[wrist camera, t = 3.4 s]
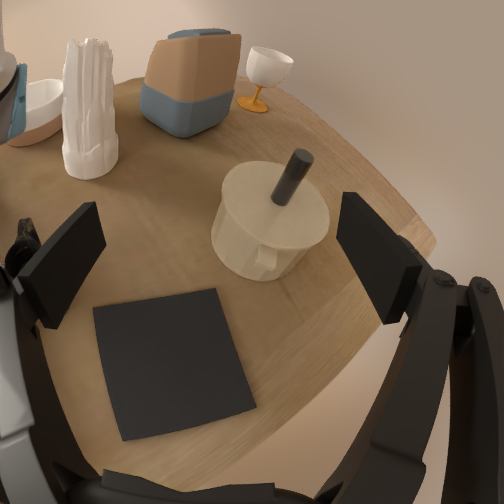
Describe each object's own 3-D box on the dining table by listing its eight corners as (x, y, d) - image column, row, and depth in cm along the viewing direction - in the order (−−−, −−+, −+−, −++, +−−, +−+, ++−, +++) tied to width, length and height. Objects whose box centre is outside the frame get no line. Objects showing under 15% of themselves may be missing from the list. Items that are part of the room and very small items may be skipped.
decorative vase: (78, 141, 45) (77, 26, 26) (124, 145, 48) (136, 25, 29) (56, 177, 39) (41, 46, 20) (108, 183, 42) (110, 42, 23)
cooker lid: (206, 228, 33) (224, 170, 25) (234, 154, 42) (252, 105, 35) (326, 269, 35) (368, 227, 28) (325, 189, 44) (353, 148, 37)
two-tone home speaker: (182, 97, 64) (202, 18, 46) (230, 124, 62) (261, 39, 44) (131, 116, 54) (144, 22, 36) (180, 149, 52) (206, 41, 34)
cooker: (195, 279, 39) (207, 241, 31) (226, 186, 50) (241, 145, 43) (291, 308, 41) (324, 279, 33) (299, 212, 53) (323, 177, 45)
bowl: (-6, 150, 37) (-15, 120, 30) (22, 109, 45) (18, 83, 39) (54, 144, 43) (50, 110, 37) (77, 104, 52) (76, 75, 45)
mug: (72, 318, 30) (42, 275, 20) (37, 324, 27) (-3, 284, 18) (67, 265, 33) (44, 209, 23) (35, 271, 31) (4, 218, 21)
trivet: (93, 309, 31) (92, 307, 31) (214, 289, 39) (215, 287, 38) (123, 440, 24) (122, 441, 24) (255, 407, 31) (256, 407, 31)
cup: (279, 111, 74) (302, 63, 61) (254, 118, 68) (277, 63, 54) (250, 93, 76) (269, 46, 63) (224, 98, 69) (242, 45, 56)
